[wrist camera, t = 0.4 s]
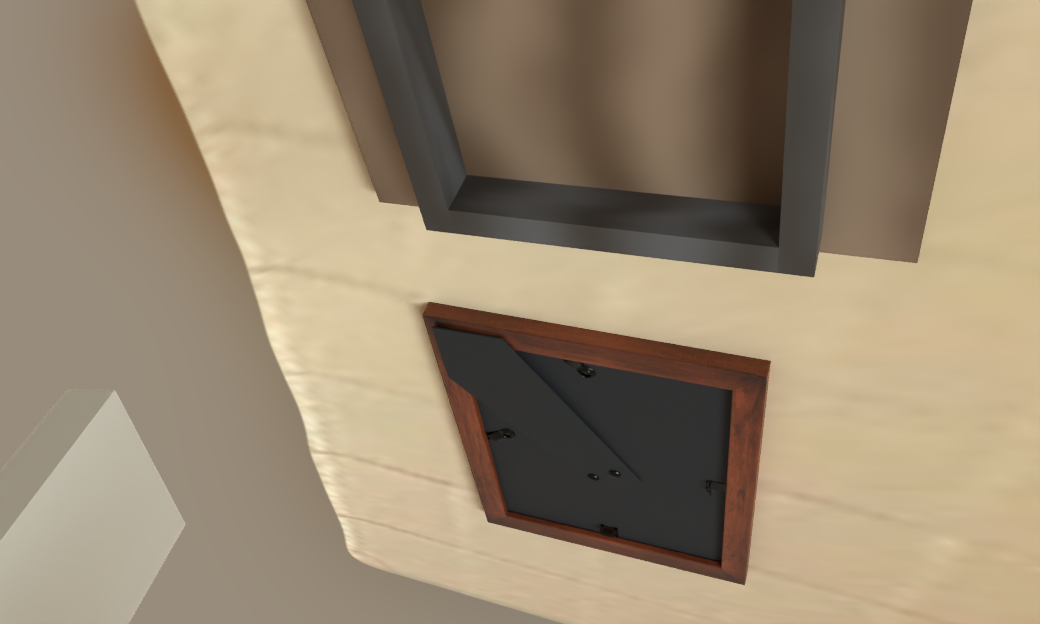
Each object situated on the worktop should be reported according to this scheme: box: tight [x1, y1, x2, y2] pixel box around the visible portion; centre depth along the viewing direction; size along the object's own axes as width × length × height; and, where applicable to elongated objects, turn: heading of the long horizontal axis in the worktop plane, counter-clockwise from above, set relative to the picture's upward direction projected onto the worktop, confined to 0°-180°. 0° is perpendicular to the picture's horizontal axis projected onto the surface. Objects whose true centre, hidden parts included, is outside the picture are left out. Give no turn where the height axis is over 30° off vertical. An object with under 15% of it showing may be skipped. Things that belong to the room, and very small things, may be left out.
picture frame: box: [423, 302, 771, 585], centre depth 63 cm, size 20×2×25 cm
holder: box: [306, 0, 973, 277], centre depth 37 cm, size 26×20×4 cm
